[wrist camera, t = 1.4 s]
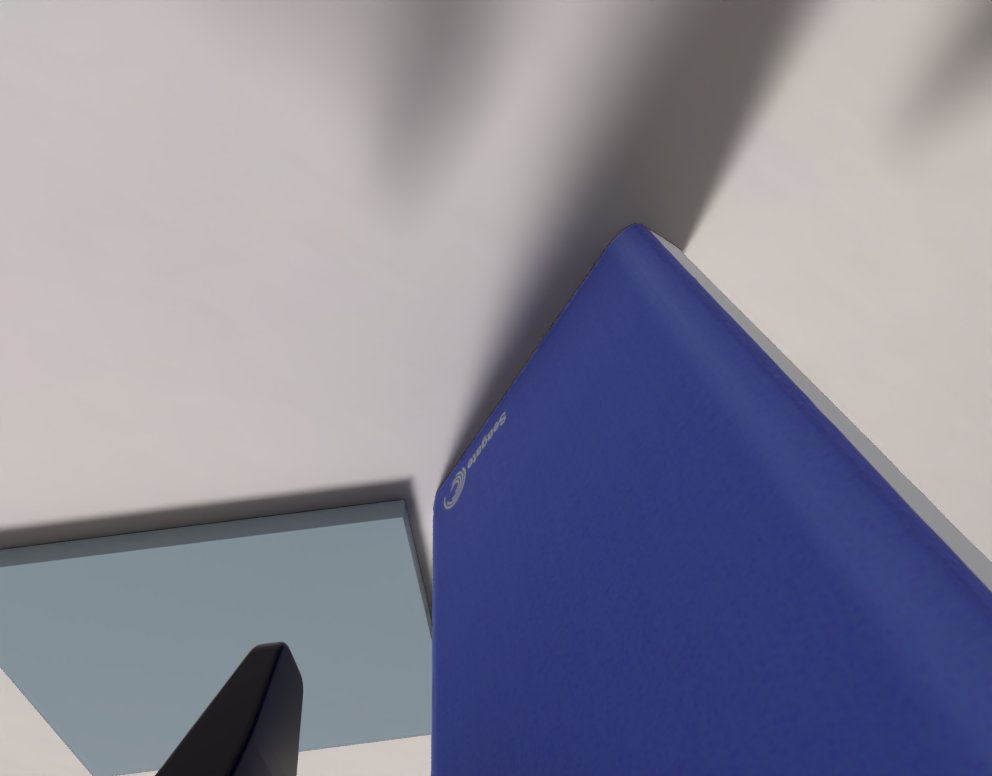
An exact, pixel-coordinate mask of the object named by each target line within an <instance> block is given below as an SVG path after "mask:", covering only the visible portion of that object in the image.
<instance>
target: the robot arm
mask: <svg viewBox="0 0 992 776" xmlns="http://www.w3.org/2000/svg"><path fill="white" fill-rule="evenodd" d="M302 704H303V680H302V676H301V673H300V671H299V669H298V666H297V664H296V662H295V659H294V657H293V655H292V653H291V650H290V648H289V646H288V645H287V644H286V643H285V642H274V643H266V644H260V645H257V646H255V647H254V648H253V649H251V651H250V652H249V653H248V654H247V656H246V657H245V658H244V660H243V661H242V662H241V663H240V665H239V666H238V667H237V669H236V670H235V671H234V673H233V674H232V675H231V677H230V678H229V679H228V680H227V682H226V683H225V684H224V686H223V687H222V688H221V690H220V691H219V692H218V694H217V695H216V696H215V698H214V699H213V700H212V701H211V703H210V704H209V705H208V707H207V708H206V709H205V711H204V712H203V713H202V715H201V716H200V717H199V718H198V720H197V721H196V722H195V724H194V725H193V726H192V728H191V729H190V730H189V732H188V733H187V734H186V736H185V737H184V738H183V739H182V741H181V742H180V743H179V745H178V746H177V747H176V749H175V750H174V751H173V753H172V754H171V755H170V756H169V758H168V759H167V760H166V762H165V763H164V764H163V766H162V767H161V768H160V770H159V771H158V772H157V773H156V775H155V776H296V775H297V763H298V751H299V739H300V727H301V715H302Z"/></svg>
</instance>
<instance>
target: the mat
mask: <svg viewBox="0 0 992 776" xmlns="http://www.w3.org/2000/svg"><path fill="white" fill-rule="evenodd" d="M274 642H285V643H286V644H287V645H288V646H289V648H290V650H291V653H292V655H293V657H294V659H295V662H296V664H297V666H298V669H299V671H300V673H301V676H302V680H303V704H302V715H301V727H300V739H299V751H298V752H301V751H309V750H317V749H324V748H332V747H339V746H347V745H355V744H362V743H370V742H378V741H385V740H393V739H401V738H408V737H416V736H424V735H431V733H432V620H431V615H430V611H429V607H428V602H427V598H426V594H425V589H424V585H423V580H422V576H421V572H420V567H419V563H418V559H417V554H416V550H415V546H414V541H413V537H412V532H411V528H410V524H409V519H408V515H407V511H406V506H405V502H404V500H398V501H390V502H382V503H374V504H365V505H357V506H349V507H341V508H333V509H325V510H317V511H309V512H301V513H293V514H285V515H277V516H269V517H261V518H253V519H244V520H236V521H228V522H220V523H212V524H204V525H196V526H188V527H180V528H172V529H164V530H156V531H148V532H140V533H132V534H124V535H115V536H107V537H99V538H91V539H83V540H75V541H67V542H59V543H51V544H43V545H35V546H27V547H19V548H11V549H3V550H0V668H1V669H2V670H3V671H4V672H5V673H6V675H7V676H8V677H9V678H10V679H11V681H12V682H13V683H14V684H15V685H16V686H17V688H18V689H19V690H20V691H21V692H22V693H23V695H24V696H25V697H26V698H27V699H28V700H29V702H30V703H31V704H32V705H33V706H34V708H35V709H36V710H37V711H38V712H39V713H40V715H41V716H42V717H43V718H44V719H45V720H46V722H47V723H48V724H49V725H50V726H51V728H52V729H53V730H54V731H55V732H56V733H57V735H58V736H59V737H60V738H61V739H62V740H63V742H64V743H65V744H66V745H67V746H68V747H69V749H70V750H71V751H72V752H73V753H74V755H75V756H76V757H77V758H78V759H79V760H80V762H81V763H82V764H83V765H84V766H85V767H86V769H87V770H88V771H89V772H90V773H91V774H92V776H118V775H125V774H133V773H141V772H148V771H156V770H160V768H161V767H162V766H163V764H164V763H165V762H166V760H167V759H168V758H169V756H170V755H171V754H172V753H173V751H174V750H175V749H176V747H177V746H178V745H179V743H180V742H181V741H182V739H183V738H184V737H185V736H186V734H187V733H188V732H189V730H190V729H191V728H192V726H193V725H194V724H195V722H196V721H197V720H198V718H199V717H200V716H201V715H202V713H203V712H204V711H205V709H206V708H207V707H208V705H209V704H210V703H211V701H212V700H213V699H214V698H215V696H216V695H217V694H218V692H219V691H220V690H221V688H222V687H223V686H224V684H225V683H226V682H227V680H228V679H229V678H230V677H231V675H232V674H233V673H234V671H235V670H236V669H237V667H238V666H239V665H240V663H241V662H242V661H243V660H244V658H245V657H246V656H247V654H248V653H249V652H250V651H251V649H253V648H254V647H255V646H257V645H260V644H266V643H274Z"/></svg>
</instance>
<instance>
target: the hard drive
mask: <svg viewBox="0 0 992 776" xmlns="http://www.w3.org/2000/svg"><path fill="white" fill-rule="evenodd" d="M433 511H434V515H433V594H432V733H431V776H992V562H991V561H990V560H989V559H988V558H986V557H985V556H984V555H983V554H982V553H981V552H980V551H979V550H978V549H977V548H976V547H975V546H974V545H973V544H972V543H971V542H970V541H969V540H968V539H967V538H966V537H965V536H964V535H963V534H962V533H961V532H960V531H959V530H958V529H957V528H956V527H955V526H954V525H953V524H952V523H951V522H950V521H949V520H948V519H947V518H946V517H945V516H944V515H943V514H942V513H941V512H940V511H939V510H938V509H937V508H936V507H935V505H934V504H933V503H932V502H931V501H930V500H929V499H928V498H927V497H926V496H925V495H924V494H923V493H922V492H921V491H920V490H919V489H918V488H917V487H916V486H915V485H914V484H913V483H912V482H910V481H909V480H908V479H907V478H906V477H905V476H904V475H903V474H902V473H901V472H900V471H899V469H898V468H897V467H896V466H895V465H894V464H893V463H892V462H891V461H890V460H889V459H888V458H887V457H886V456H885V455H884V454H883V453H882V452H881V451H880V450H879V449H878V448H877V447H876V446H875V445H874V444H873V443H872V442H871V441H870V440H869V439H868V438H867V437H866V436H865V435H864V434H863V433H862V432H861V431H860V430H859V429H858V428H857V427H856V426H855V425H854V424H853V423H852V422H851V421H850V420H849V419H848V418H847V417H846V416H845V415H844V414H843V413H842V412H841V411H840V410H839V409H838V408H837V407H836V406H835V405H834V404H833V403H832V402H831V401H830V400H829V399H828V398H827V397H826V396H825V395H824V394H823V393H822V392H821V391H820V390H819V389H818V388H817V387H816V386H815V385H814V384H813V383H812V382H811V381H810V380H809V379H808V378H807V377H806V376H805V375H804V374H803V373H802V372H801V371H800V370H799V369H798V368H797V367H796V366H795V365H794V364H793V363H792V362H791V361H790V360H789V359H788V358H787V357H786V356H785V355H784V354H783V353H782V352H781V351H780V350H779V349H778V348H777V347H776V346H775V345H774V344H773V343H772V342H771V341H770V340H769V339H768V338H767V337H766V336H765V335H764V334H763V333H762V332H761V331H760V330H759V329H758V328H757V327H756V326H755V325H754V324H753V323H752V322H751V321H750V320H749V319H748V318H747V317H746V316H745V315H744V314H743V313H742V312H741V311H740V310H739V309H738V308H737V307H736V306H735V305H734V304H733V303H732V302H731V301H730V300H729V299H728V298H727V297H726V296H725V295H724V294H723V293H722V292H721V291H720V290H719V289H718V288H717V287H716V286H715V285H714V284H713V283H712V282H711V281H710V280H709V279H708V278H707V277H706V276H705V275H704V274H703V273H702V272H701V270H700V269H699V268H698V267H697V266H696V265H695V264H693V263H692V262H691V261H690V260H689V259H688V258H687V256H686V255H685V254H684V253H683V252H682V251H681V250H679V249H678V248H677V247H676V246H674V245H673V244H671V243H670V242H668V241H666V240H665V239H663V238H662V237H660V236H658V235H657V234H655V233H654V232H652V231H651V230H648V229H647V228H645V227H643V226H642V225H640V224H635V223H634V224H632V225H631V226H629V227H627V228H626V229H624V230H623V231H622V232H621V233H620V234H619V235H618V236H616V237H615V238H614V239H613V240H612V241H611V242H610V244H609V245H608V246H607V248H606V249H605V250H604V252H603V253H602V255H601V256H600V258H599V259H598V260H597V262H596V264H595V265H594V267H593V268H592V269H591V271H590V272H589V274H588V275H587V277H586V278H585V280H584V281H583V283H582V284H581V286H580V287H579V288H578V289H577V290H576V292H575V293H574V295H573V296H572V298H571V300H570V301H569V303H568V304H567V305H566V306H565V308H564V309H563V311H562V312H561V314H560V316H559V317H558V318H557V320H556V321H555V323H554V324H553V325H552V327H551V328H550V330H549V331H548V333H547V335H546V336H545V337H544V339H543V340H542V342H541V343H540V344H539V346H538V347H537V349H536V350H535V351H534V353H533V354H532V356H531V357H530V359H529V360H528V362H527V364H526V365H525V366H524V368H523V369H522V370H521V372H520V373H519V375H518V376H517V378H516V379H515V381H514V382H513V383H512V385H511V386H510V388H509V389H508V391H507V392H506V394H505V395H504V397H503V398H502V400H501V401H500V402H499V404H498V405H497V407H496V409H495V410H494V411H493V413H492V414H491V415H490V417H489V418H488V419H487V420H486V422H485V423H484V425H483V427H482V429H481V430H480V431H479V432H478V433H477V435H476V436H475V438H474V440H473V442H472V443H471V444H470V446H469V447H468V449H467V450H466V451H465V453H464V454H463V456H462V457H461V459H460V460H459V461H458V463H457V465H456V466H455V468H454V469H453V470H452V472H451V473H450V475H449V476H448V477H447V479H446V480H445V482H444V483H443V485H442V486H441V488H440V489H439V490H438V492H437V495H436V497H435V501H434V507H433Z"/></svg>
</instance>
